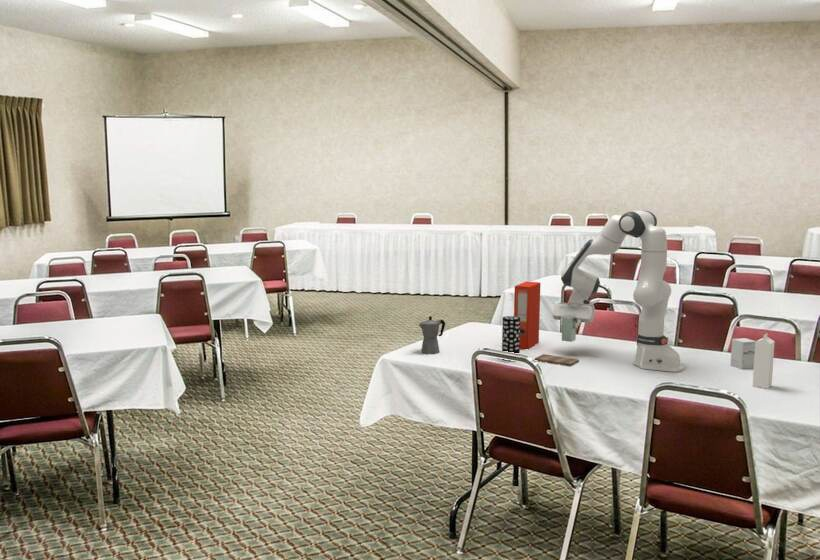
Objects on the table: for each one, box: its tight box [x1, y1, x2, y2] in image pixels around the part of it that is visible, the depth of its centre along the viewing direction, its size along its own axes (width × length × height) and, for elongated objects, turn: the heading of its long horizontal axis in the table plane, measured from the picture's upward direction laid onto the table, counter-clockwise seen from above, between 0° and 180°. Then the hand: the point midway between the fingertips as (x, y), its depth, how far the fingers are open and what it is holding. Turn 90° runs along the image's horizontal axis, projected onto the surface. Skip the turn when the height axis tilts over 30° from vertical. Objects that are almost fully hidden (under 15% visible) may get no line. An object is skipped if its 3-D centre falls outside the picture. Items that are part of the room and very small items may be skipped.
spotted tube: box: [501, 315, 521, 362], centre depth 350 cm, size 8×8×20 cm
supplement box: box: [730, 337, 757, 370], centre depth 334 cm, size 7×7×13 cm
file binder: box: [513, 281, 541, 350], centre depth 376 cm, size 8×17×32 cm, turn 152°
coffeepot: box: [418, 316, 446, 355], centre depth 365 cm, size 15×9×18 cm, turn 121°
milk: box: [752, 332, 776, 389], centre depth 303 cm, size 6×6×22 cm
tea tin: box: [561, 315, 577, 343], centre depth 355 cm, size 5×5×12 cm
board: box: [534, 353, 580, 367], centre depth 346 cm, size 18×10×1 cm, turn 55°
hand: (568, 327), depth 354 cm, fingers closed on tea tin, 5 cm apart
